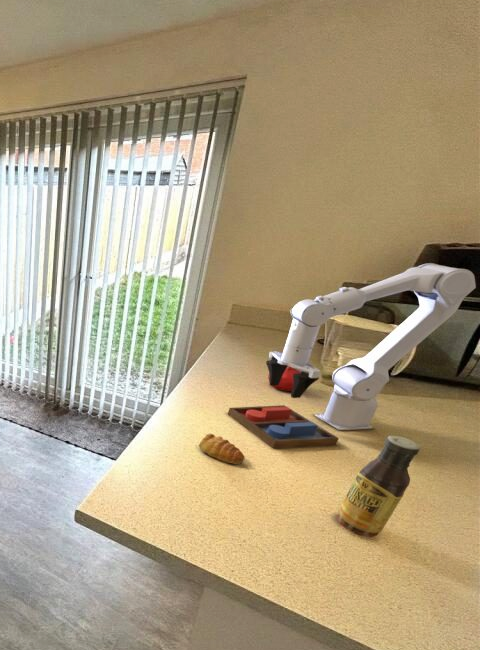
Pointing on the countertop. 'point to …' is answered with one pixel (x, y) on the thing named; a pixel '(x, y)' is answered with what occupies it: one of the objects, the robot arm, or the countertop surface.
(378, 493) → the sauce bottle
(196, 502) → the countertop surface
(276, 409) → the red spoon
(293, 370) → the pomegranate
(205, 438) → the pastry
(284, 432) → the blue spoon
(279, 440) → the sorting tray
